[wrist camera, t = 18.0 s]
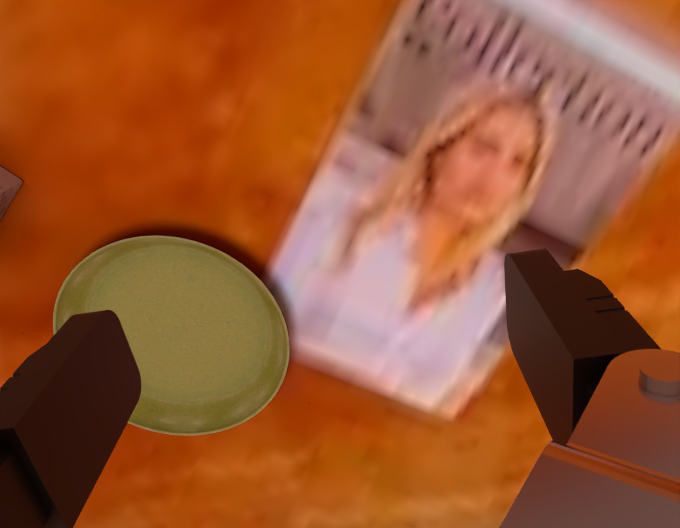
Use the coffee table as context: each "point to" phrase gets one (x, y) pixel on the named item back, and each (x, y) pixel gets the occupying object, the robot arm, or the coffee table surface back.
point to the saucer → (185, 330)
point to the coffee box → (7, 189)
